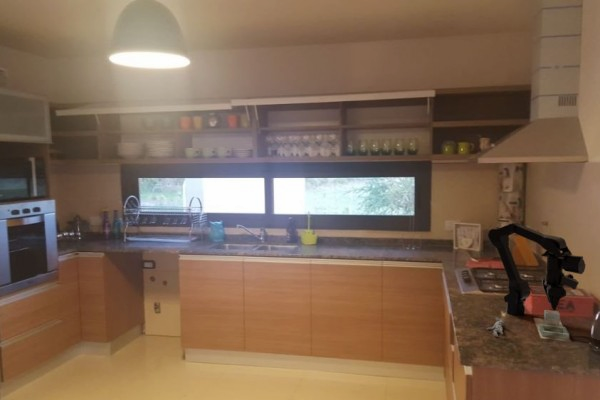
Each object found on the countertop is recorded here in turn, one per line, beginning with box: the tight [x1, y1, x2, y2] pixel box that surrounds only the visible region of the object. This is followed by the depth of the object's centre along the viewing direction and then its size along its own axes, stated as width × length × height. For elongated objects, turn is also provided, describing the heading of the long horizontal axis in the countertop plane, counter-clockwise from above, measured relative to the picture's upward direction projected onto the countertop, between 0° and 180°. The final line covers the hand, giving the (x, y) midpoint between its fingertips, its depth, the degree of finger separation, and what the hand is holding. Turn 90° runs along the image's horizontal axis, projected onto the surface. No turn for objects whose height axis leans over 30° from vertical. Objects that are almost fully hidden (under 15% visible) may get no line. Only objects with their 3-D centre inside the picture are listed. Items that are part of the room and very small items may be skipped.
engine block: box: [543, 309, 561, 326], centre depth 186 cm, size 5×4×5 cm
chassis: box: [533, 317, 572, 344], centre depth 181 cm, size 10×23×3 cm, turn 159°
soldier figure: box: [486, 317, 505, 338], centre depth 181 cm, size 8×5×12 cm
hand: (552, 306), depth 186 cm, fingers open, 9 cm apart
